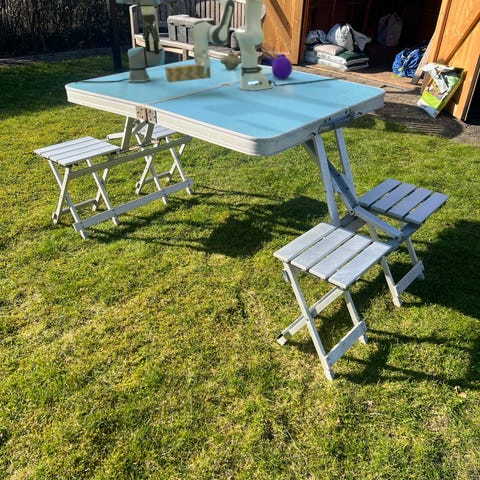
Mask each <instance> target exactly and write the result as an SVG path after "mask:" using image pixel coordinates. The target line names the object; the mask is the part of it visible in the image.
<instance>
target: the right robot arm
mask: <svg viewBox="0 0 480 480" xmlns="http://www.w3.org/2000/svg"><path fill="white" fill-rule="evenodd" d="M217 1H218V4H219V5H220V6H221V8H222V14H221V17H220V21H219V24H218V25H213V24H211V23H209V22H207V21H206V20H201V19H200V20H198V21H197V20H196V21H195V22H194V24H193V26H192V33H193V34H192V35H193V40H194V42H193V47H192V52H193V59H194V60H193V61H194V64H200V65H201V66H203V68H204V71H203V73H204V74H207V67H210V68H211V59H210V55H209V53H210V51H209V43H213V44H216V45H219V46H223V45H225V44H226V43H227V42H228V39H229V33H230V32H229V30H230V27H231V23H232V19H233V15H234V12H235V5H236V0H217ZM263 3H264V0H245V4H244V8H243V9H244V10H243V17H244V18H245V25H241V26H238V27H237V29H236V30H235V35H234V36H235V39H236V40H237V42H238V46H239V50H240V51H239V52H241V63H240V64H241V66H240V84H239V89H240V90H244V91H253V92H254V91H261V90H267V89H268V90H269V89H272V88H273V85H274V86H275V87H281V86H288V85H289V86H290V85H299V84H308V83H317V82H324V81H334V80H342V79H344V80H347V78H346V76H345V77H344V76H341V77H336V78H335V77H334V78H327V79H316V80H308V81H300V82H299V81H298V82H288V83H281V84H276V82H275V81H273V80H272V79H271V80H270V79H269V78H268V77H267V76H266V75H265V74H264V73H262V72H261V71H263V67H262V66H259V62H258V61H259V56H258V55H259V53H258V52H257V50H256V46H258V45H261V44H262V43H263V41H264V39H265V34H264V31H263V28H262V10H263V6H264V5H263ZM272 84H273V85H272Z"/></svg>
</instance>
